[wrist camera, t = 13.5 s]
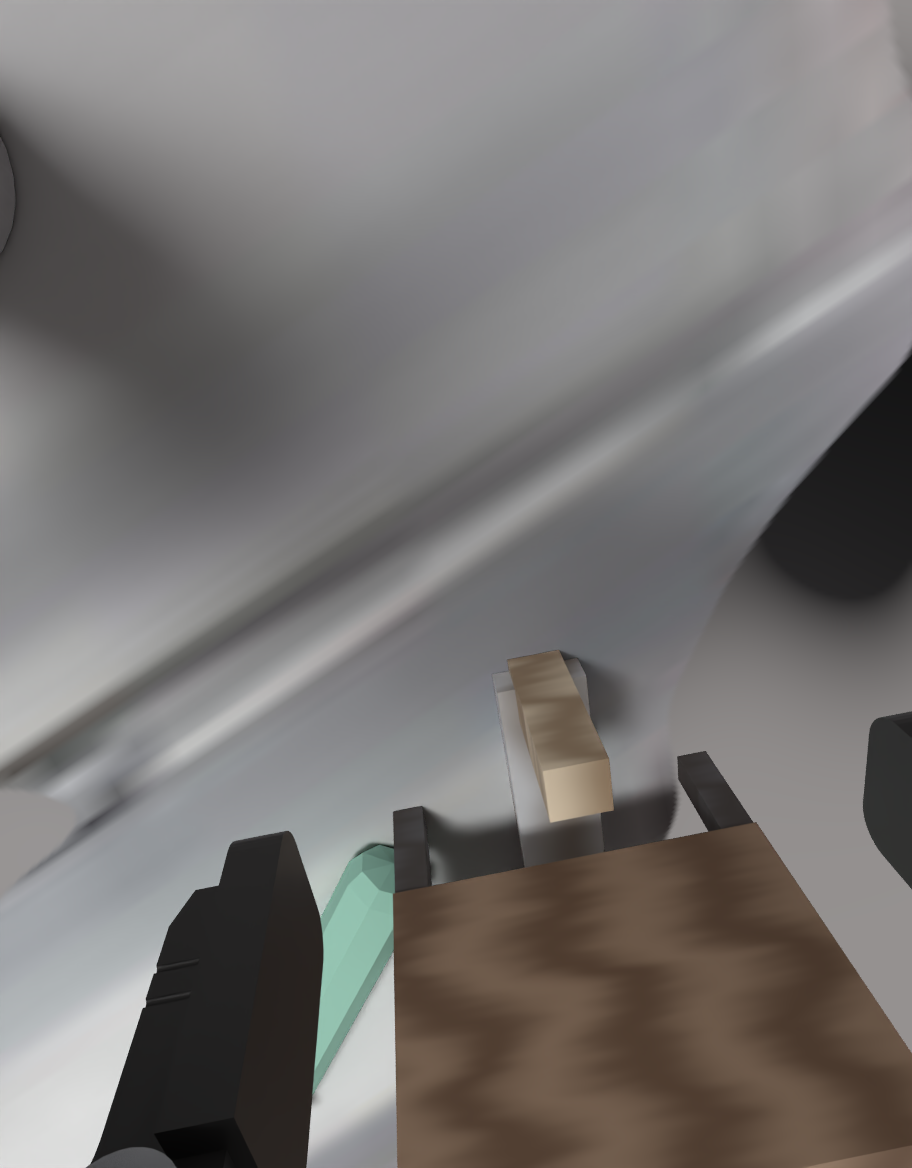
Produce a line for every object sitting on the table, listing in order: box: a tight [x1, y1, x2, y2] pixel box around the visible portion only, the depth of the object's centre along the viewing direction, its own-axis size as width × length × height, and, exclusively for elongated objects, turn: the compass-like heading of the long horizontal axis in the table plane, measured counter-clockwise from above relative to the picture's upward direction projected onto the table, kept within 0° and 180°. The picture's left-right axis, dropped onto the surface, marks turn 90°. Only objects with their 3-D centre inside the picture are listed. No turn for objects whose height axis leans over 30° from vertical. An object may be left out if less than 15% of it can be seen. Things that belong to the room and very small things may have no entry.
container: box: [312, 845, 395, 1095], centre depth 48 cm, size 6×6×25 cm
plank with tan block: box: [492, 650, 614, 868], centre depth 42 cm, size 5×25×10 cm, turn 10°
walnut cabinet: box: [393, 751, 912, 1168], centre depth 37 cm, size 20×10×22 cm, turn 99°
